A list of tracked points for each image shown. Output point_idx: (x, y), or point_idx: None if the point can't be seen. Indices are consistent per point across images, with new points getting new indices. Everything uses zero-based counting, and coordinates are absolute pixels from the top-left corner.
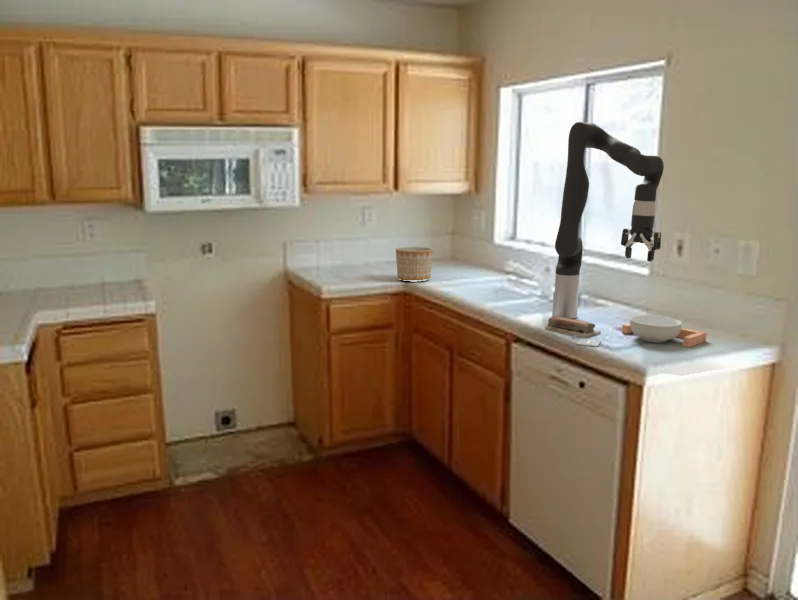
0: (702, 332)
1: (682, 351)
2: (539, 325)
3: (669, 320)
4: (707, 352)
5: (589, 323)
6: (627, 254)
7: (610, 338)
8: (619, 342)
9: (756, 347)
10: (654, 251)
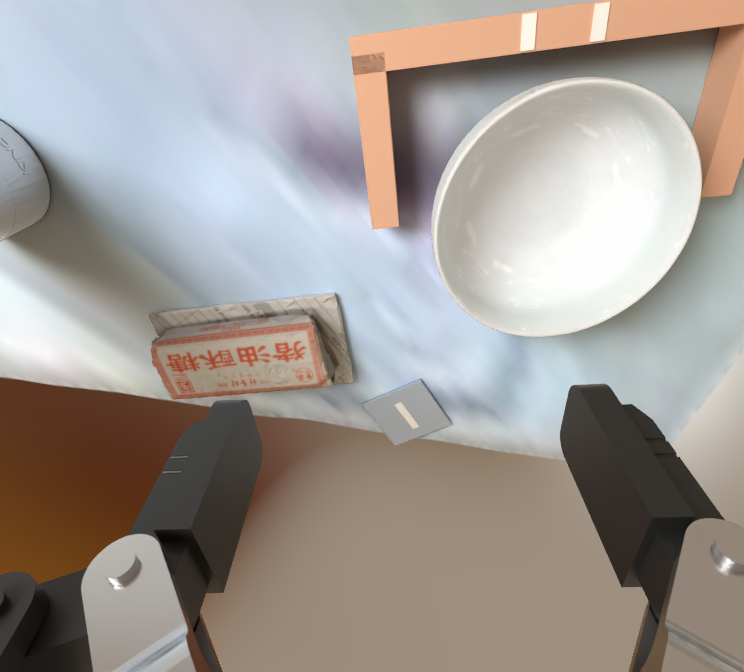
0: None
1: (699, 262)
2: (137, 369)
3: (588, 90)
4: None
5: (319, 365)
6: (246, 497)
7: (406, 319)
8: (461, 336)
9: None
10: (725, 523)
